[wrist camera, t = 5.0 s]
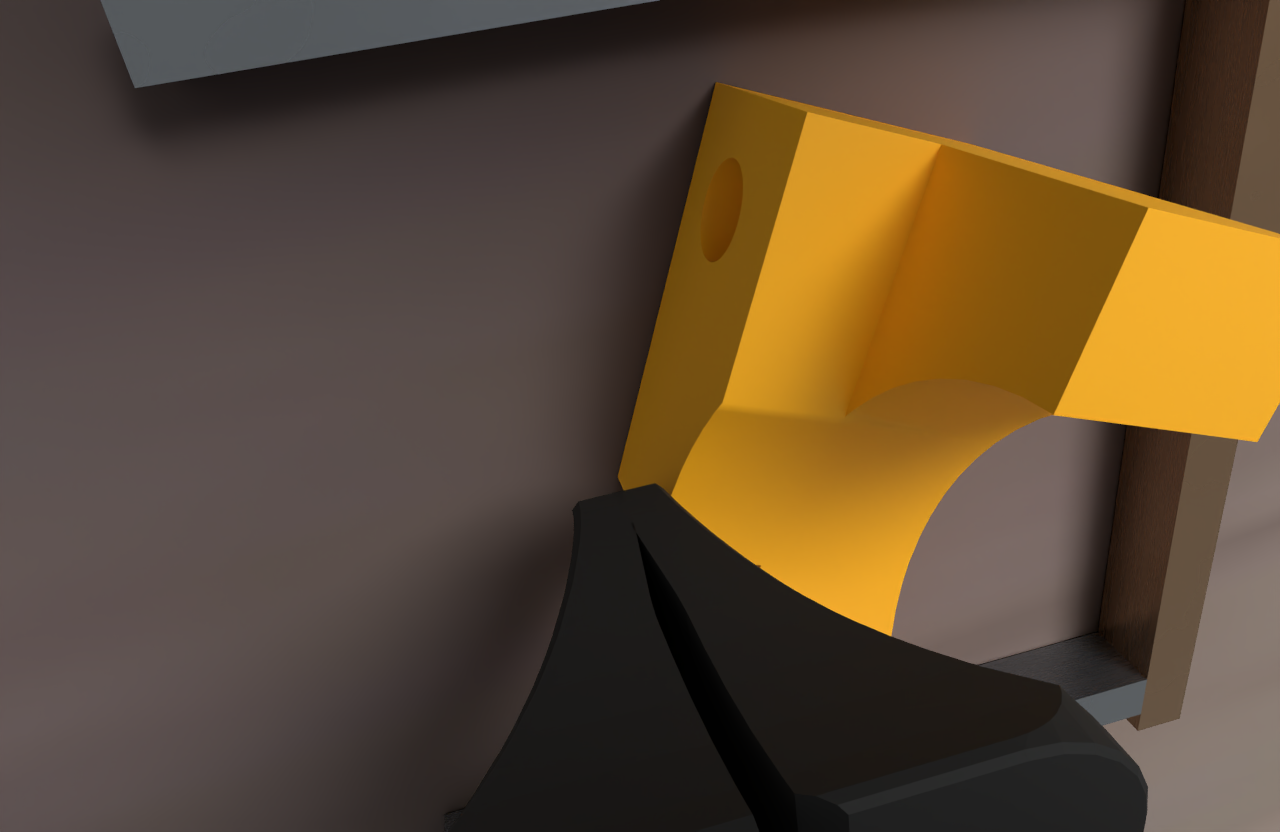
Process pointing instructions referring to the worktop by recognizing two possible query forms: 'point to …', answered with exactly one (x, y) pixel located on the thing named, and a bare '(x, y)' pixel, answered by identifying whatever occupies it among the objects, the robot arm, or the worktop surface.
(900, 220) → the pipe clamp
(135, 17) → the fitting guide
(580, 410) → the worktop surface
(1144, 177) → the worktop surface
